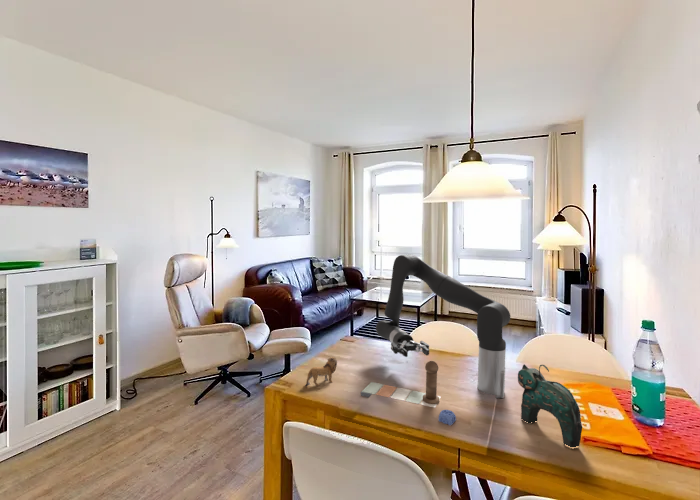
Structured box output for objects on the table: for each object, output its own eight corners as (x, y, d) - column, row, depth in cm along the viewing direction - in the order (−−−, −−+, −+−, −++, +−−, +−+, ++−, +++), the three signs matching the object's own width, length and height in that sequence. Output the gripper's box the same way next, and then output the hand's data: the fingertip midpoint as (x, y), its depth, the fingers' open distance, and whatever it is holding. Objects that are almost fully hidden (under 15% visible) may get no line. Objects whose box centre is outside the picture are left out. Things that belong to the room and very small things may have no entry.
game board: (441, 399, 131) (441, 396, 131) (435, 412, 122) (435, 408, 122) (371, 384, 143) (371, 381, 143) (360, 395, 134) (360, 391, 134)
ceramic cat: (514, 417, 119) (516, 357, 118) (529, 414, 122) (532, 354, 120) (569, 453, 101) (573, 381, 100) (586, 448, 103) (590, 378, 102)
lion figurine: (332, 375, 151) (332, 354, 151) (340, 380, 147) (340, 357, 147) (301, 385, 142) (301, 362, 141) (309, 390, 138) (309, 366, 137)
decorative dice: (443, 420, 117) (444, 408, 117) (455, 424, 115) (456, 412, 115) (438, 425, 114) (438, 413, 114) (450, 430, 112) (450, 417, 111)
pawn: (440, 398, 129) (441, 360, 128) (437, 405, 124) (438, 365, 123) (425, 395, 131) (425, 357, 130) (420, 401, 126) (421, 362, 125)
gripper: (385, 332, 151) (399, 345, 136) (417, 330, 155) (435, 342, 139) (384, 349, 152) (399, 364, 136) (416, 347, 156) (434, 362, 140)
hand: (417, 353), depth 138 cm, fingers open, 8 cm apart
